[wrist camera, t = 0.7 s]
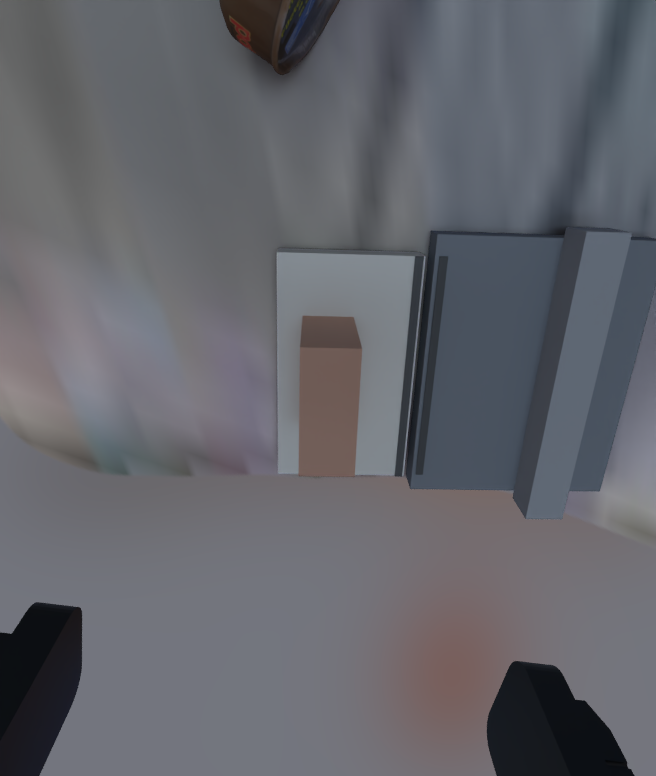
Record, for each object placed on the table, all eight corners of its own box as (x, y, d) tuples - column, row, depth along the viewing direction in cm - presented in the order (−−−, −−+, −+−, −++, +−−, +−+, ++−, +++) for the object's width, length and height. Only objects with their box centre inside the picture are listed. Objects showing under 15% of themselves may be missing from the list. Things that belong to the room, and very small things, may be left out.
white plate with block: (419, 251, 26) (451, 275, 20) (399, 461, 30) (420, 532, 24) (278, 247, 26) (267, 270, 20) (279, 459, 30) (270, 531, 24)
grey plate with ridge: (651, 227, 26) (699, 234, 23) (585, 484, 32) (616, 519, 28) (432, 220, 25) (449, 227, 22) (405, 481, 31) (415, 517, 28)
